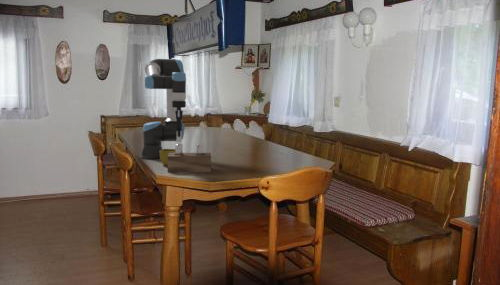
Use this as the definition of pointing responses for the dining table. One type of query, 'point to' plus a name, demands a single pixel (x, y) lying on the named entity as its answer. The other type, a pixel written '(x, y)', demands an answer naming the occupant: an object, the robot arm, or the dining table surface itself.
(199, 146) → the peg
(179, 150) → the peg
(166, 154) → the flower pot
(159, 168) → the dining table surface
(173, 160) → the tan grooved block
